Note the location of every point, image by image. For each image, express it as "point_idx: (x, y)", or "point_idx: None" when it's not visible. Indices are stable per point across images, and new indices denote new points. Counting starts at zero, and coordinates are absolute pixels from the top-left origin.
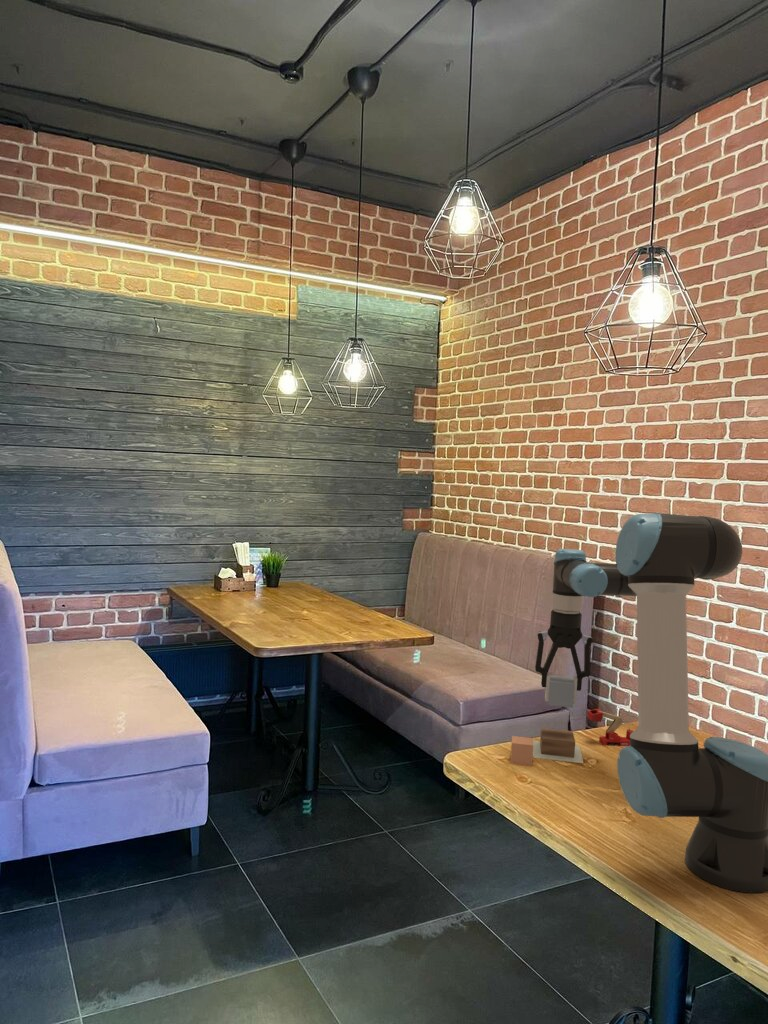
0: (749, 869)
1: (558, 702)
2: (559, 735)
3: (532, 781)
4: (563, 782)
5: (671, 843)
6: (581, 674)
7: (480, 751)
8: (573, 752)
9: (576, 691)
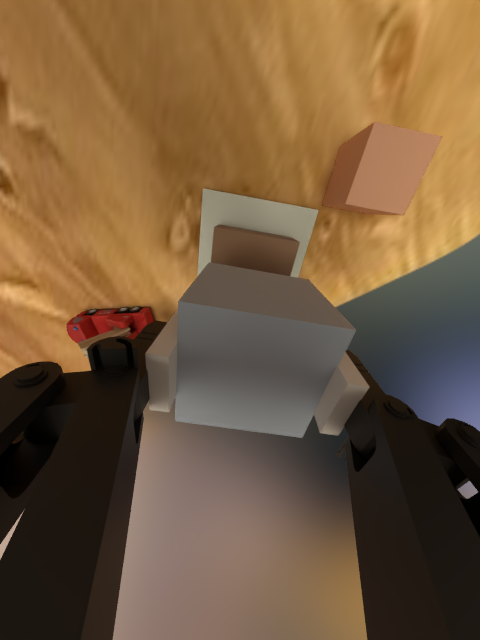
0: None
1: (270, 276)
2: None
3: (375, 32)
4: (282, 44)
5: None
6: (92, 380)
7: (415, 256)
8: (220, 225)
9: (176, 310)
